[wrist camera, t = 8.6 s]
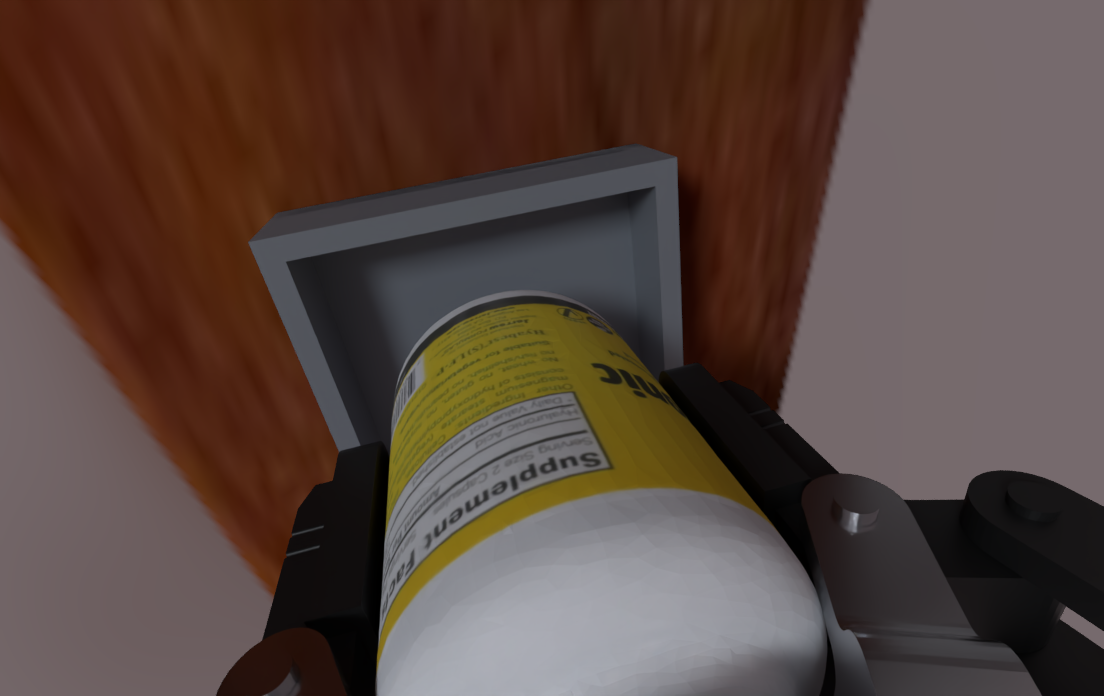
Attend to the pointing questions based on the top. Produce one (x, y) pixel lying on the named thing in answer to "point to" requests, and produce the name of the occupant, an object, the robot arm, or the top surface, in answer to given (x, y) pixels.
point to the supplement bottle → (573, 527)
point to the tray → (472, 268)
